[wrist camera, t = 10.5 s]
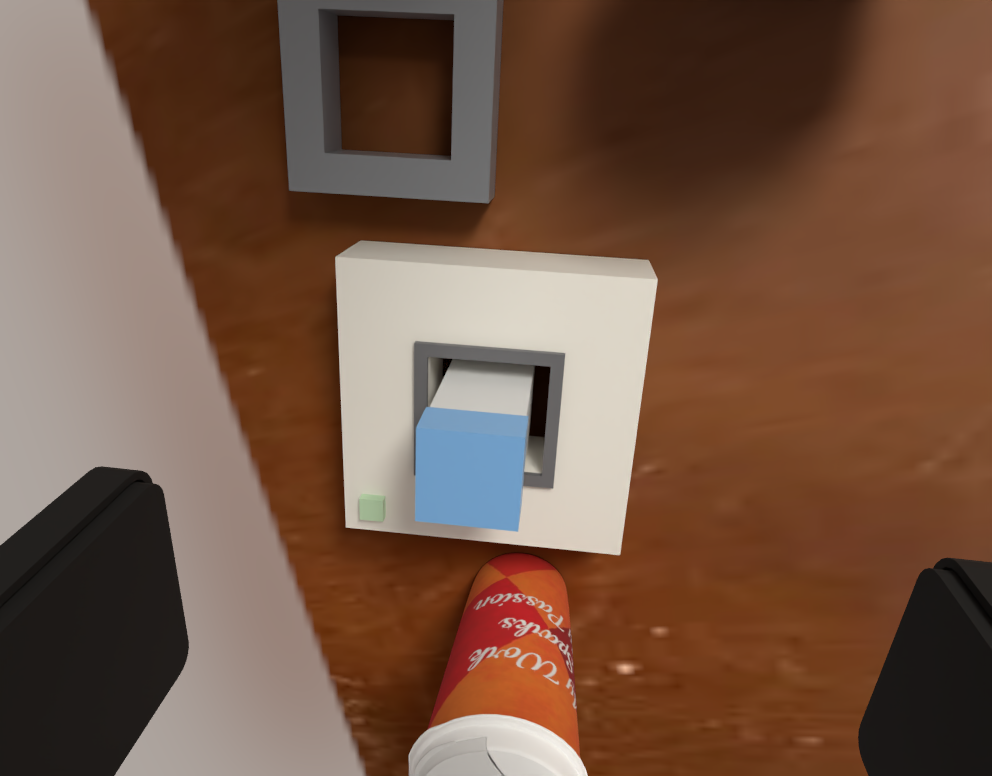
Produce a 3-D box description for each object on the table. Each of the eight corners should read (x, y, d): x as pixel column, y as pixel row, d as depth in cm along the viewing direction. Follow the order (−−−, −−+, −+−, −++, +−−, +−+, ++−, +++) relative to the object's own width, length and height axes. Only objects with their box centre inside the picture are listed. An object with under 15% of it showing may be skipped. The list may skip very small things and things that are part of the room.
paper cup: (612, 584, 41) (629, 807, 28) (534, 663, 44) (516, 900, 31) (502, 511, 40) (466, 708, 27) (429, 597, 42) (365, 814, 30)
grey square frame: (297, -31, 31) (274, -42, 28) (504, -23, 30) (498, -33, 28) (308, 184, 34) (289, 190, 32) (494, 196, 33) (488, 203, 31)
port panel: (360, 240, 35) (331, 259, 31) (648, 260, 34) (659, 282, 29) (367, 488, 40) (343, 532, 36) (615, 512, 39) (620, 561, 35)
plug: (456, 344, 36) (415, 427, 27) (538, 351, 36) (525, 437, 27) (454, 419, 38) (415, 520, 29) (532, 426, 38) (518, 531, 28)
